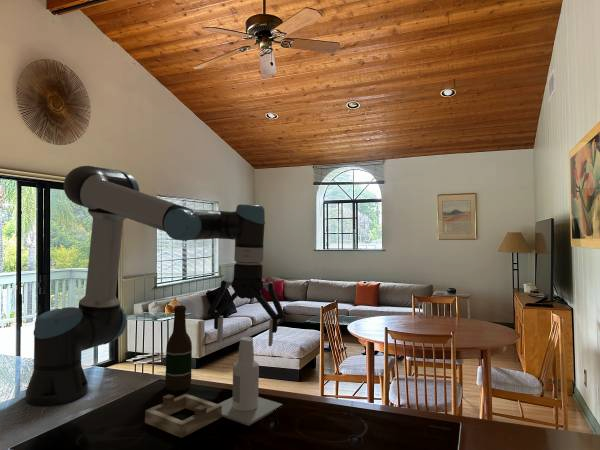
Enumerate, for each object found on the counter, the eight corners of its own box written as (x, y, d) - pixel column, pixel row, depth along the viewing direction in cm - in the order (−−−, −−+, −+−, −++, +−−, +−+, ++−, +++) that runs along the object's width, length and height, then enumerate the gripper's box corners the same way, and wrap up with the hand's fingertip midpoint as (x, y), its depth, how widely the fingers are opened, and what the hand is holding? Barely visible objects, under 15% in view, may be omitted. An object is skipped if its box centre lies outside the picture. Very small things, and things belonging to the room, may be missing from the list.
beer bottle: (184, 393, 126) (186, 309, 125) (159, 390, 127) (161, 307, 127) (196, 383, 133) (197, 304, 133) (172, 381, 135) (174, 303, 135)
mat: (207, 411, 114) (207, 408, 114) (242, 394, 126) (242, 392, 126) (248, 425, 106) (248, 423, 106) (282, 406, 118) (282, 404, 118)
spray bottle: (244, 399, 121) (246, 333, 121) (263, 405, 117) (264, 338, 116) (226, 407, 115) (227, 338, 115) (245, 414, 111) (246, 343, 111)
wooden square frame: (144, 422, 107) (144, 404, 107) (185, 404, 118) (185, 387, 118) (182, 438, 99) (182, 418, 99) (222, 417, 110) (222, 399, 110)
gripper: (197, 262, 113) (194, 344, 113) (294, 267, 111) (290, 350, 111) (205, 259, 120) (202, 336, 120) (296, 264, 119) (292, 342, 119)
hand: (245, 343), depth 116 cm, fingers open, 13 cm apart
